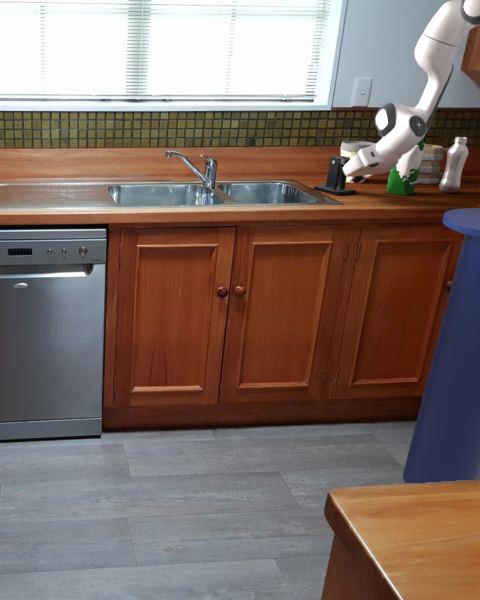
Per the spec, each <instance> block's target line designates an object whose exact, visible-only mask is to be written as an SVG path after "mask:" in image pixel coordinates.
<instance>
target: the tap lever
mask: <svg viewBox="0 0 480 600" xmlns="http://www.w3.org/2000/svg"><path fill="white" fill-rule="evenodd" d="M340 158H342V157H340ZM344 165H345V160H344V159H343V158H342V160H341V165H340V167H341V166H342V167H344ZM354 178H355V179H354V180H353V182H355V183H354V184H359V183H358V182H360V181H361V180H362V175H361V176H355V177H354Z"/></svg>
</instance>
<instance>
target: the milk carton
mask: <svg viewBox="0 0 480 600" xmlns="http://www.w3.org/2000/svg"><path fill="white" fill-rule="evenodd" d="M424 140H425V138H424V137H423V138H422V140H421V141H420V142H419V143H418V144H417V145H416V146H414V147H413V148H412V149H411V150H410V151H408V152H407V153H404V154H403V155H402V158H400V159H399V160H398V161H399V162H398V164H397V165H396V166H395V167H394V168H393V169H392V170H390V171H389V174H388V175H389V176H388V179H387V186H386V193H388V194H394V195H400V196H404V197H405V196H409V195H412V194H415V191H416V187H417V183H416V182H417V178H418V173H419V169H420V164H421V159H422V155H423V152H424V149H425V146H426V143H424Z"/></svg>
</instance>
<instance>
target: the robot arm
mask: <svg viewBox="0 0 480 600" xmlns="http://www.w3.org/2000/svg"><path fill="white" fill-rule="evenodd" d="M476 27H477V28H480V0H448V1H446V2H445V3H443V4H442V5H441V6H440V8H439V9H438V10H437V11H436V13H435V14H434V15H433V16H432V18H431V19H430V21H429V22H428V23H427V26H426V27H425V29H424V31H423V32H422V34H421V36H420V37H419V39H418V41H417V43H416V46H415V48H414V58H415V61H416V63H417V64H418V66H419V67H420V68H421V69H422V70H423V71H425V73H426V75H427V80H428V81H427V83H426V86H425V88H424V90H423V92H422V95H421V97H420V100H419V102H418V103H417V105H415V106H410V105H409V106H408V105H405V104H401V103H397V102H396V103H395V102H387V103H385V104H384V105H382V106H381V107H380V108H379V109H378V110H377V112H376V114H375V117H374V125H375V128H376V131H377V132H378V134H379V136H380V137H381V139H379V141H377V142H376V143H375V144H374V145H372V146H369V147H366V148H362V149H360V150H359V151H358V155H356V156H354V157H353V158H352V159H351V160H349V161H348V162H347V163H346V164H345V165H344V167H343V172H344V174H345V176H346V177H347V180H348V181H353V180H354V179H355V178H354V177H355V176H361V175H362V180H364V181H365V180H367V179H368V178H369V177H372V176H374V175H381V174H383V175H384V174H387V173H390V170H392V169H393V168H394V167H395V166H396V165H397V164H398V162H399V161H398V160H399V159H400V158H402V155H403V154H404V153H407V152H408V151H410V150H411V149H412V148H413V147H414V146H416V145H417V144H418V143H419V142H420V141H421V140H422V138H424V137H425V135H426V134H427V133H428V132H429V130H430V128H431V126H432V123H433V120H434V116H435V113H436V111H437V109H438V106H439V104H440V102H441V100H442V98H443V95H444V93H445V91H446V89H447V87H448V86H449V85H448V84H449V82H450V80H451V78H452V75H453V72H454V63H453V61H454V57H455V55H456V52H457V50H458V49H459V46H460V45H461V43H462V41H463V40H464V39H465V36H466V35H467V34H468V32H469V31H471V30H472V29H474V28H476Z"/></svg>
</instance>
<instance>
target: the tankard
mask: <svg viewBox="0 0 480 600" xmlns="http://www.w3.org/2000/svg"><path fill="white" fill-rule="evenodd" d="M425 144H426V143H425ZM450 148H451V147H449V148H448V147H443V146H442V145H436V144H426V146H425V149H424V152H423V155H422V159H421V164H420V169H419V173H418V178H417V182H416V184H421V185H436V184H440V178H441V179H442V178H443V175H444V172H442V171H440V170H441V165H440V164H441V163H440V162H441V161H443V157H444V154H447V153H448V150H449V149H450ZM443 153H444V154H443Z"/></svg>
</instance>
